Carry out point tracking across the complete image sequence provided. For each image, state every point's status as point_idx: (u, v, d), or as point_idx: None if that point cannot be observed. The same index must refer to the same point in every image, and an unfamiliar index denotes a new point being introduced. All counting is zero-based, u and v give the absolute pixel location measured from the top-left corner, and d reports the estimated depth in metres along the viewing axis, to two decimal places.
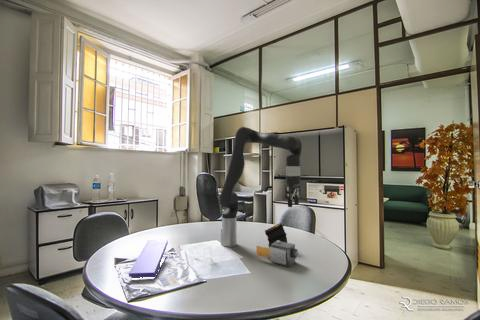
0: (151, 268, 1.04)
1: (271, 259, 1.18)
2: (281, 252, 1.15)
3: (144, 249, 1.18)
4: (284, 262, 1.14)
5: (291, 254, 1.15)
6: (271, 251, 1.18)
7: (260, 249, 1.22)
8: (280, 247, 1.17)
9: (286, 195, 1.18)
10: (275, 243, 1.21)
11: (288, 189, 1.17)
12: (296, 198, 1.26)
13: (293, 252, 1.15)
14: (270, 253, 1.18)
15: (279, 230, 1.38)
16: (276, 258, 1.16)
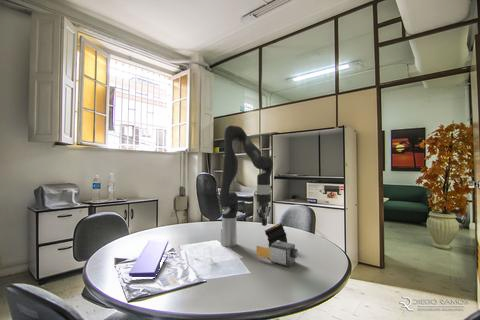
0: (151, 268, 1.04)
1: (271, 259, 1.18)
2: (281, 252, 1.15)
3: (144, 249, 1.18)
4: (284, 262, 1.14)
5: (291, 254, 1.15)
6: (271, 251, 1.18)
7: (260, 249, 1.22)
8: (280, 247, 1.17)
9: (260, 216, 1.22)
10: (275, 243, 1.21)
11: (260, 212, 1.20)
12: None
13: (293, 252, 1.15)
14: (270, 253, 1.18)
15: (279, 230, 1.38)
16: (276, 258, 1.16)
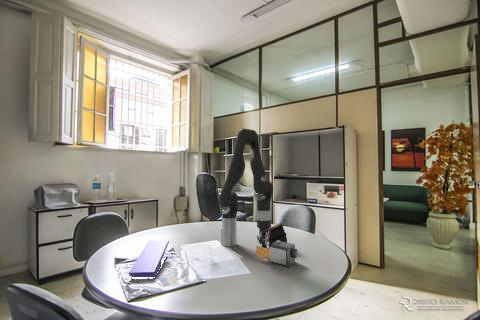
0: (151, 267, 1.04)
1: (271, 259, 1.18)
2: (281, 252, 1.15)
3: (145, 249, 1.19)
4: (284, 262, 1.14)
5: (291, 254, 1.15)
6: (271, 251, 1.18)
7: (260, 249, 1.22)
8: (280, 247, 1.17)
9: (260, 242, 1.22)
10: (275, 243, 1.21)
11: (260, 239, 1.19)
12: None
13: (293, 252, 1.15)
14: (270, 253, 1.18)
15: (279, 230, 1.38)
16: (276, 258, 1.16)
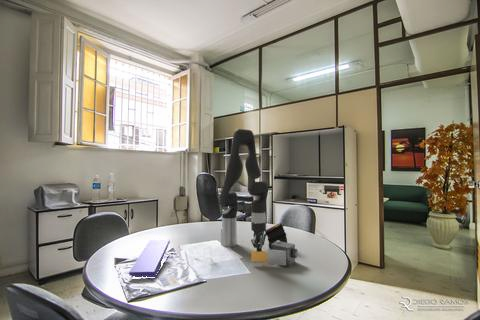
0: (151, 267, 1.05)
1: (269, 262, 1.14)
2: (280, 253, 1.13)
3: (146, 248, 1.19)
4: (284, 263, 1.13)
5: (291, 254, 1.15)
6: (269, 254, 1.14)
7: (256, 254, 1.15)
8: (280, 247, 1.17)
9: (254, 246, 1.16)
10: (275, 243, 1.21)
11: (254, 242, 1.13)
12: None
13: (293, 252, 1.15)
14: (268, 256, 1.14)
15: (279, 230, 1.38)
16: (275, 260, 1.14)
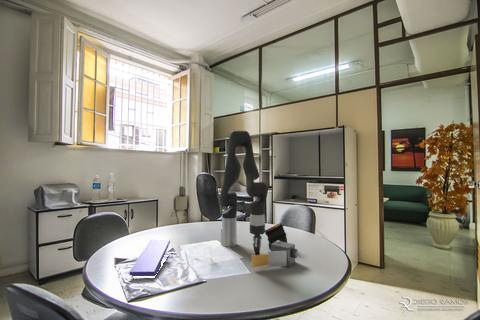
0: (151, 267, 1.05)
1: (270, 265, 1.11)
2: (281, 254, 1.12)
3: (146, 248, 1.20)
4: (285, 263, 1.12)
5: (291, 254, 1.15)
6: (270, 256, 1.11)
7: (257, 258, 1.10)
8: (280, 247, 1.17)
9: (255, 249, 1.10)
10: (275, 243, 1.21)
11: (256, 246, 1.08)
12: None
13: (293, 252, 1.15)
14: (269, 259, 1.11)
15: (279, 230, 1.38)
16: (276, 262, 1.12)
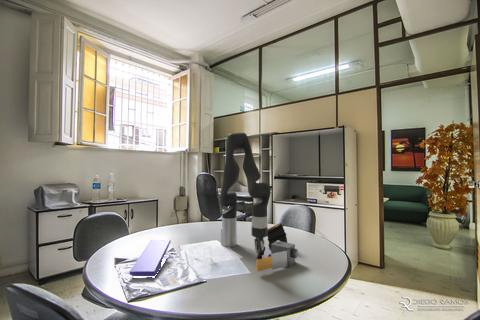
0: (151, 267, 1.05)
1: (273, 267, 1.08)
2: (282, 255, 1.11)
3: (147, 248, 1.20)
4: (285, 264, 1.12)
5: (291, 254, 1.15)
6: (273, 258, 1.09)
7: (261, 262, 1.06)
8: (280, 247, 1.17)
9: (259, 253, 1.05)
10: (275, 243, 1.21)
11: (263, 250, 1.03)
12: None
13: (293, 252, 1.15)
14: (272, 261, 1.08)
15: (279, 230, 1.38)
16: (278, 263, 1.10)
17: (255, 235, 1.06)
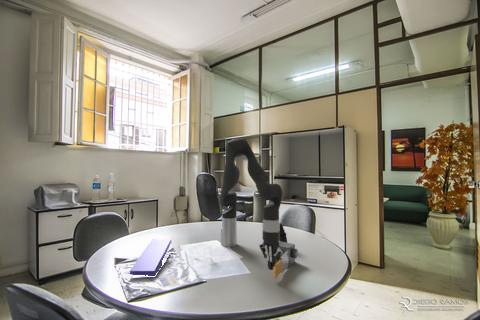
0: (152, 266, 1.06)
1: (282, 270, 1.05)
2: (286, 256, 1.10)
3: (147, 247, 1.21)
4: (287, 264, 1.11)
5: (291, 254, 1.15)
6: (282, 261, 1.05)
7: (277, 267, 0.99)
8: (280, 247, 1.17)
9: None
10: None
11: (281, 254, 0.98)
12: None
13: (293, 252, 1.15)
14: (282, 264, 1.05)
15: None
16: (284, 265, 1.07)
17: (271, 240, 0.98)
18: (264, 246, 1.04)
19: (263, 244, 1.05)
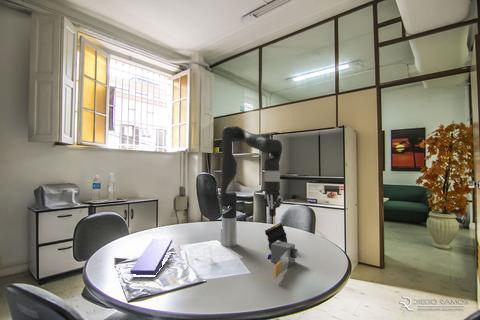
0: (152, 266, 1.06)
1: (282, 270, 1.05)
2: (286, 256, 1.10)
3: (148, 247, 1.21)
4: (287, 264, 1.11)
5: (291, 254, 1.15)
6: (282, 261, 1.05)
7: (277, 267, 0.99)
8: (280, 247, 1.17)
9: (276, 205, 1.09)
10: (275, 243, 1.21)
11: (281, 201, 1.08)
12: None
13: (293, 252, 1.15)
14: (282, 264, 1.05)
15: (279, 230, 1.38)
16: (284, 265, 1.07)
17: (272, 188, 1.09)
18: (266, 196, 1.14)
19: (265, 195, 1.15)
